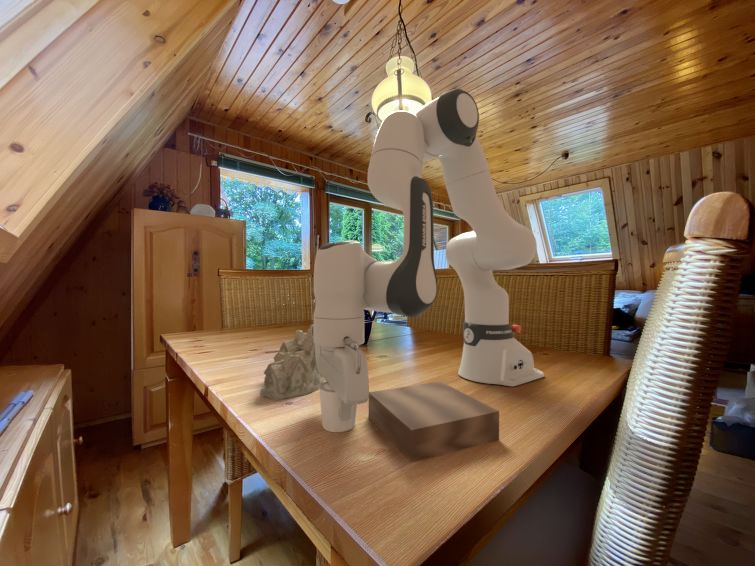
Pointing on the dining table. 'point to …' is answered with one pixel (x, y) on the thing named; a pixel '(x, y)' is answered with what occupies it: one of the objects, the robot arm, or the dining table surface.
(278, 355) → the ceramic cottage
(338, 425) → the white cup
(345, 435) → the dining table surface
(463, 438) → the walnut block
